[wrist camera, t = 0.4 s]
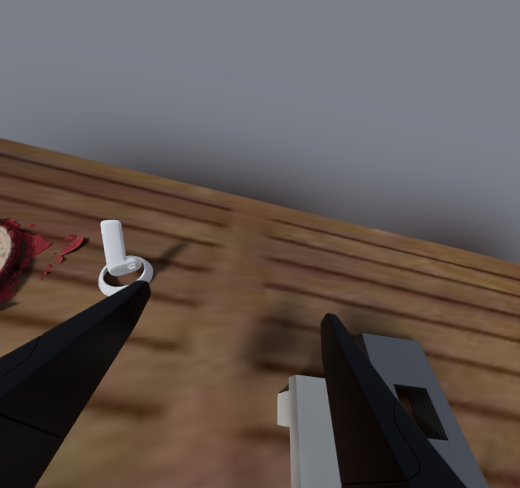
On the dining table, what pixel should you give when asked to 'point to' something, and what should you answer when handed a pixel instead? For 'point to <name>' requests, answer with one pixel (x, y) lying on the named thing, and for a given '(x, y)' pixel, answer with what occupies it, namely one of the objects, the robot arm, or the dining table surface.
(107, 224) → the hook
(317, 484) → the clip
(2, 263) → the plate with food
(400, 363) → the rail
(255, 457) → the dining table surface
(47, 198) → the dining table surface
